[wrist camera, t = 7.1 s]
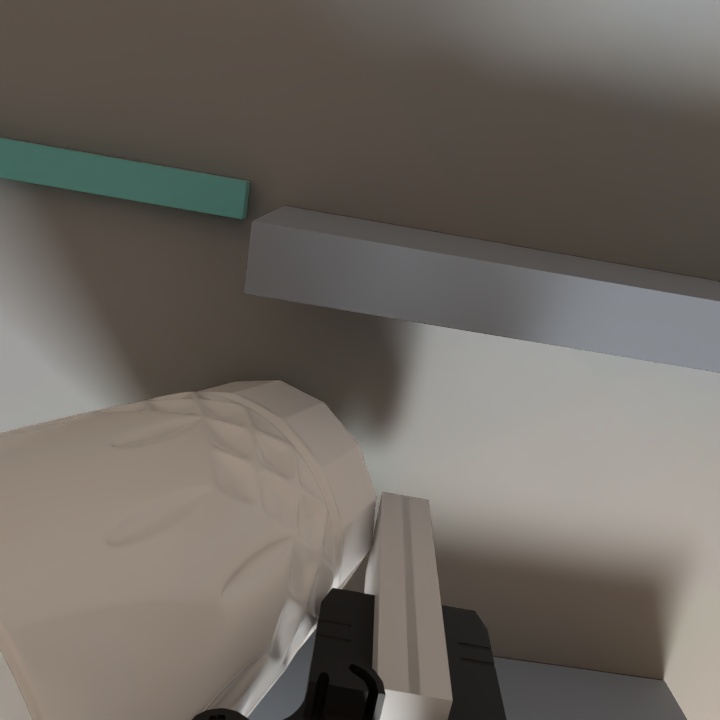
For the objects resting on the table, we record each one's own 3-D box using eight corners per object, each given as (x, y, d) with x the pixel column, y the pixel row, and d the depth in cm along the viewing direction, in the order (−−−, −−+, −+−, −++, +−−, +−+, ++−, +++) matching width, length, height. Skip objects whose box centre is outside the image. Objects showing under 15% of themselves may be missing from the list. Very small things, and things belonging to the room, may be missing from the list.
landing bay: (-166, 609, 21) (-181, 622, 20) (-233, 96, 16) (-256, 93, 15) (199, 659, 22) (194, 673, 21) (250, 180, 16) (246, 181, 16)
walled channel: (227, 653, 22) (189, 790, 17) (283, 205, 17) (251, 220, 12) (651, 711, 22) (729, 859, 18) (824, 299, 17) (998, 349, 13)
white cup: (457, 524, 15) (173, 907, 6) (284, 654, 19) (-53, 1017, 10) (268, 300, 17) (-173, 363, 8) (141, 460, 20) (-263, 627, 11)
